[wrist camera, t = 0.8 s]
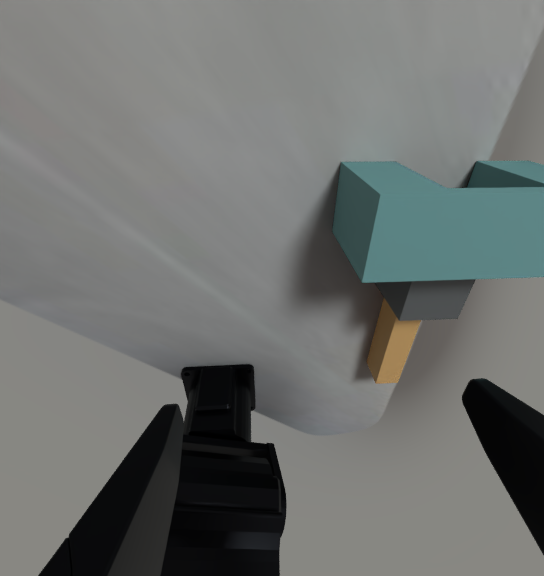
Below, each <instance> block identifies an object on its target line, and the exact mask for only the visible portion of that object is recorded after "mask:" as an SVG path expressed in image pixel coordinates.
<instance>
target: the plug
mask: <svg viewBox="0 0 544 576" xmlns="http://www.w3.org/2000/svg"><path fill="white" fill-rule="evenodd" d="M475 280H476V279H465V280H433V281H402V282H376V283H375V284H376V285H377V287H378V289H379V290H380V292H381V293H382V295H383V296H384V299H383V303H382V306H381V310H380V314H379V318H378V321H377V325H376V329H375V332H374V336H373V340H372V344H371V347H370V351H369V355H368V359H367V364H368V367H369V369H370V371H371V374H372V376H373V378H374V381H375V383H376V384H378V383H398V380H399V378H400V375H401V372H402V370H403V367H404V364H405V362H406V359H407V356H408V354H409V351H410V348H411V346H412V343H413V340H414V338H415V335H416V332H417V330H418V327H419V324H420V322H421V320H436V319H457V318H458V316H459V314H460V312H461V310H462V308H463V306H464V303H465V301H466V299H467V297H468V295H469V293H470V290H471V288H472V286H473V284H474V282H475Z"/></svg>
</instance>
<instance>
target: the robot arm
mask: <svg viewBox="0 0 544 576" xmlns="http://www.w3.org/2000/svg"><path fill="white" fill-rule="evenodd" d="M181 376H182V380H183V383H184V387H185V391H186V396H187V400H188V404H187V409H186V415H185V421H183V417H182V414H181V411H180V408H179V405H178V404H167V405H164V406H163V407H162V408H161V409H160V410H159V412H158V413H157V415H156V416H155V417H154V419H153V420H152V421H151V423H150V424H149V426H148V427H147V429H146V430H145V431H144V433H143V434H142V435H141V437H140V438H139V439H138V441H137V442H136V443H135V445H134V446H133V448H132V449H131V450H130V452H129V453H128V454H127V456H126V457H125V458H124V460H123V461H122V463H121V464H120V465H119V467H118V468H117V469H116V471H115V472H114V474H113V475H112V476H111V478H110V479H109V480H108V482H107V483H106V484H105V486H104V487H103V489H102V490H101V491H100V493H99V494H98V495H97V497H96V498H95V500H94V501H93V502H92V504H91V505H90V506H89V508H88V509H87V510H86V512H85V513H84V515H83V516H82V517H81V519H80V520H79V521H78V523H77V524H76V526H75V527H74V528H73V530H72V531H71V532H70V534H69V538H66V539H65V540H64V542H63V543H62V544H61V546H60V547H59V549H58V550H57V551H56V553H55V554H54V555H53V557H52V558H51V559H50V561H49V562H48V563H47V565H46V566H45V567H44V569H43V570H42V571H41V573H40V574H39V575H38V576H279V575H280V573H279V547H280V537H281V536H282V533H283V530H284V525H285V519H286V493H285V488H284V483H283V479H282V475H281V471H280V467H279V463H278V459H277V455H276V451H275V447H274V444H272V443H267V444H263V443H254V442H251V411H253V410H254V409H255V386H254V367H253V366H252V365H250V364H245V365H224V366H203V367H186V368H183V369H182V373H181ZM462 401H463V405H464V407H465V409H466V411H467V414H468V416H469V418H470V420H471V422H472V425H473V427H474V429H475V431H476V433H477V436H478V438H479V440H480V442H481V444H482V446H483V448H484V451H485V453H486V454H487V456H488V458H489V460H490V462H491V464H492V465H493V467H494V469H495V471H496V472H497V474H498V476H499V477H500V479H501V481H502V483H503V485H504V486H505V488H506V490H507V492H508V493H509V495H510V497H511V499H512V500H513V502H514V504H515V506H516V507H517V509H518V511H519V513H520V514H521V516H522V518H523V519H524V521H525V523H526V525H527V527H528V528H529V530H530V532H531V534H532V536H533V537H534V539H535V541H536V543H537V544H538V546H539V548H540V550H541V551H542V553H543V555H544V415H543V414H541V413H540V412H538V411H536V410H535V409H533V408H532V407H530V406H528V405H527V404H525V403H524V402H522V401H520V400H519V399H517V398H516V397H514V396H513V395H511V394H509V393H508V392H506V391H505V390H503V389H501V388H500V387H498V386H497V385H495V384H493V383H492V382H490V381H488V380H487V379H483V378H481V379H472V380H470V381H469V383H468V385H467V387H466V389H465V391H464V393H463V395H462Z"/></svg>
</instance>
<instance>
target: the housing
mask: <svg viewBox="0 0 544 576" xmlns="http://www.w3.org/2000/svg"><path fill="white" fill-rule="evenodd" d="M332 232H333V234H334V235H335V237H336V239H337V241H338V242H339V244H340V246H341V248H342V249H343V251H344V253H345V254H346V256H347V258H348V260H349V261H350V263H351V265H352V266H353V268H354V270H355V272H356V273H357V275H358V277H359V279H360V280H361V282H362V283H371V282H402V281H433V280H465V279H495V278H527V277H544V165H542V164H538V163H535V162H531V161H477V162H476V164H475V167H474V170H473V172H472V175H471V178H470V181H469V183H468V186H467V188H445V187H444V186H442V185H440V184H438V183H436V182H434V181H432V180H430V179H428V178H426V177H424V176H422V175H420V174H418V173H417V172H415V171H413V170H411V169H409V168H407V167H405V166H403V165H401V164H399V163H397V162H341V166H340V174H339V182H338V190H337V197H336V205H335V213H334V221H333V228H332Z"/></svg>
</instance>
